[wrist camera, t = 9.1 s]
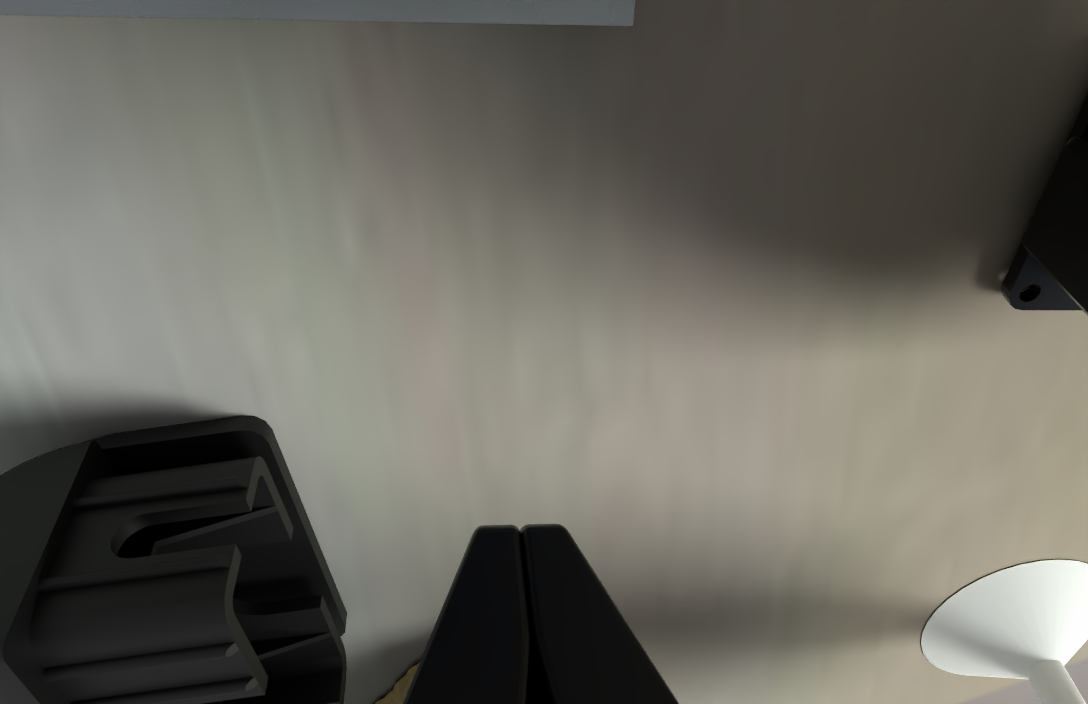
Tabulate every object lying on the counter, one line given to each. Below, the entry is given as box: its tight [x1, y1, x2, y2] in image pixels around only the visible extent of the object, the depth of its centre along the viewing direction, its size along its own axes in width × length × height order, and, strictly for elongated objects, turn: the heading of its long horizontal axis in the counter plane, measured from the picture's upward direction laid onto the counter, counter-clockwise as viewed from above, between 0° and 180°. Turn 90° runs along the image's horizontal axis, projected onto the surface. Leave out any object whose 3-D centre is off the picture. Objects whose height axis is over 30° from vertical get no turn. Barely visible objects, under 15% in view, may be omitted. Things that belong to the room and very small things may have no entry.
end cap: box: [0, 416, 347, 704], centre depth 23 cm, size 10×7×7 cm
